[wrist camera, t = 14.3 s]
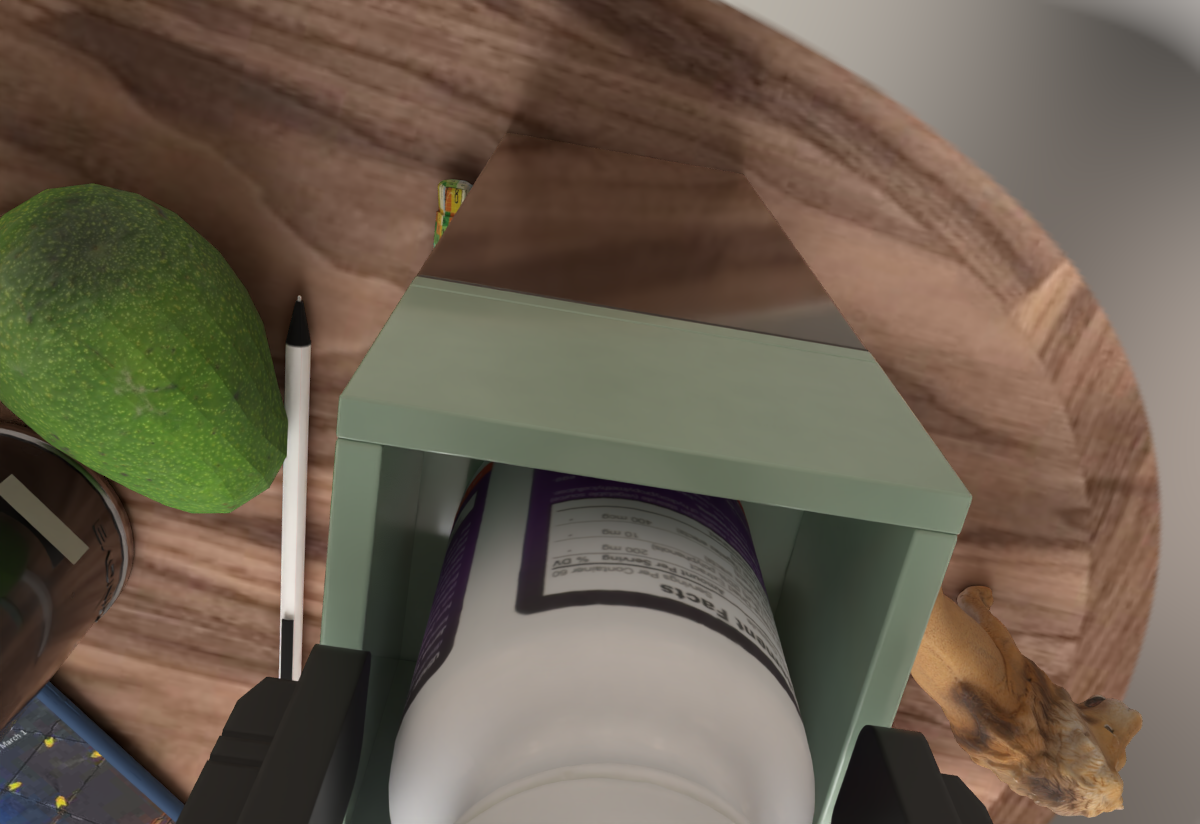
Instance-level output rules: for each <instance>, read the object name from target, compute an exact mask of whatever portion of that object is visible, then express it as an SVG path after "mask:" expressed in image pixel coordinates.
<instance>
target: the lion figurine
mask: <svg viewBox="0 0 1200 824" xmlns="http://www.w3.org/2000/svg"><path fill="white" fill-rule="evenodd" d="M957 603H958V605H957V604H956V603H955V602H954V601H953V600H951V599H950V598H948V597H947V596H946V595H944V594H943V590H942V585H941V587H940V590H939V593H938V596H937V598H936V601H935V604H934V607H933V610H932V613H931V615H930V618H929V621H928V624H927V627H926V630H925V633H924V635H923V638H922V641H921V644H920V647H919V650H918V652H917V655H916V658H915V661H914V664H913V667H912V669H911V672H910V673H911V674H912V676H913V678H914V679H915V680H916V682H917V683H918V684H919V685H920V686H921V687H922V688H923V689H924V691H925V692H926V693H927V694H928V695H929V696H930V697H931V698H933V699H934V700H935V701H936V702H937V703H939V704H940V705H941V708H942V710H943V712H944V714H945V715H946V717H947V718H948V720H949V721H950V726H951V729H952V732H953V734H954V737H955V739H956V741H957V743H958V744H959V745H960V746H961V747H962V748H963V749H964V750H965V751H966V752H967V753H968V754H969V755H970V758H971V760H972V761H973V762H974V763H976V764H978V765H980V766H983V767H986V768H989V769H990V770H992V771H993V772H994V773H995V774H996V776H997V777H998V778H999V780H1000V781H1002V782H1004V783H1007V784H1008V785H1009V787H1010V788H1011V789H1012V790H1013V791H1014V792H1016V793H1017V794H1019V795H1023V796H1028V797H1029V798H1031V799H1033V801H1034V802H1035V803H1036V804H1038V805H1040V806H1046V807H1048V808H1050V809H1051V810H1052V811H1053V812H1054V813H1056V814H1059V815H1063V816H1077V815H1084V816H1086V817H1088V818H1090V817H1096V816H1097V815H1099V814H1100V813H1102V812H1111V811H1113V810H1115V809H1118V810H1121V809H1123V808H1124V807H1123V805H1122V803H1123V799H1122V796H1121V794H1122V792H1123V781H1122V779H1121V777H1120V775H1119V774H1118V772H1119V771H1120V770H1121V769H1122V768H1123V766H1124V765H1125V763H1126V753H1125V748H1126V746H1127V745H1128V744H1129V742H1130V741H1131V739H1132V737H1134V736H1135V735H1136V733H1137V732H1138V731H1139V730H1140V729H1141V727H1142V716H1141V714H1140V713H1139V712H1137V711H1136V710H1133V709H1130V708H1128V707H1127V706H1126V705H1125V704H1124V703H1123V702H1121V701H1119V700H1116V699H1106V698H1105V697H1103V696H1101V695H1094V696H1092V697H1090V698H1089V699H1088V700H1086V701H1084V702H1082V703H1080V704H1075V703H1074V702H1073V701H1072V699H1071V697H1070V695H1069V693H1068V692H1067V691H1066V690H1065V689H1064V688H1063V687H1060V686H1057V685H1055V684H1053V683H1052V682H1051V680H1050V679H1049V678H1048V676H1047V675H1046V674H1045V672H1044V671H1042V670H1041V669H1040V668H1038V667H1037V666H1036V664H1035V663H1034V662H1033V661H1031V660H1029V659H1028V658H1026V657H1025V656H1024V655H1022V654H1021V653H1020V651H1019V650H1018V648H1017V646H1016V644H1015V642H1014V640H1013V639H1012V637H1011V635H1010V633H1009V632H1008V630H1007V629H1006V627H1005V626H1004V625H1003V624H1002V623H1001V622H1000V621H999V620H998V619H997V618H996V617H995V616H993V615H992V614H991V613H990V611H989V610H990V606H991V605H992V604H993V597H992V591H991V589H990V588H989V587H985V586H970V587H968V588H966V589H965V590H964V591H963V592H961V593H960V594H959V595H958V598H957Z"/></svg>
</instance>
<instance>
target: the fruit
mask: <svg viewBox="0 0 1200 824" xmlns="http://www.w3.org/2000/svg"><path fill="white" fill-rule="evenodd" d="M0 400H1V401H2V403H3V404H4V405H5V406H6V407H7V408H8V409H10V410H11V411H12V412H13V413H14V414H15V415H17V416H18V417H19V418H20V419H21V420H22V421H24V422H25V423H26V424H27V425H28V426H29V427H30V428H32V429H33V430H34V431H35V432H36V433H37V434H39V435H40V436H41V437H42V438H43V439H44V440H46V441H47V442H48V443H50V444H51V445H52V446H54V447H56V448H57V449H59V450H61V451H62V452H64V453H66V454H67V455H69V456H71V457H72V458H74V459H76V460H77V461H79V462H81V463H82V464H84V465H86V466H87V467H89V468H91V469H92V470H94V471H96V472H98V473H100V474H102V475H104V476H106V477H108V478H109V479H111V480H113V481H115V482H117V483H119V484H121V485H123V486H125V487H127V488H129V489H131V490H133V491H135V492H137V493H139V494H142V495H144V496H146V497H148V498H150V499H153V500H155V501H157V502H159V503H161V504H163V505H166V506H169V507H173V508H176V509H180V510H183V511H186V512H190V513H230V512H232V511H234V510H235V509H237V508H238V507H240V506H241V505H243V504H245V503H246V502H248V501H249V500H251V499H252V498H254V497H255V496H257V495H259V494H260V493H262V492H263V491H265V490H266V489H268V488H269V487H270V485H271V483H272V482H273V480H274V478H275V476H276V475H277V473H278V471H279V469H280V468H281V466H282V464H283V462H284V460H285V459H286V457H287V439H288V418H287V415H286V411H285V408H284V404H283V401H282V397H281V394H280V390H279V387H278V383H277V379H276V375H275V371H274V366H273V362H272V358H271V353H270V349H269V345H268V341H267V337H266V333H265V329H264V324H263V322H262V320H261V318H260V316H259V314H258V312H257V310H256V308H255V306H254V304H253V302H252V300H251V297H250V295H249V293H248V291H247V289H246V288H245V286H244V285H243V284H242V282H241V281H240V279H239V278H238V277H237V275H236V274H235V273H234V271H233V270H232V268H231V267H230V266H229V264H228V263H227V262H226V260H225V259H224V257H223V256H222V255H221V253H220V252H219V251H218V250H217V249H216V248H215V247H214V246H212V245H211V244H210V243H209V242H208V241H207V240H206V239H205V238H203V237H202V236H201V235H200V234H199V233H198V232H197V231H195V230H194V229H193V228H192V227H191V226H190V225H189V224H187V223H186V222H185V221H184V220H183V219H182V218H181V217H180V216H178V215H177V214H176V213H174V212H172V211H170V210H168V209H166V208H164V207H162V206H160V205H158V204H156V203H154V202H153V201H151V200H149V199H147V198H145V197H143V196H141V195H139V194H136V193H132V192H128V191H123V190H119V189H115V188H111V187H106V186H102V185H98V184H93V183H92V184H84V185H76V186H69V187H61V188H53V189H46V190H44V191H42V192H41V193H39V194H37V195H36V196H34V197H32V198H31V199H29V200H27V201H26V202H24V203H22V204H21V205H19V206H17V207H16V208H14V209H12V210H11V211H9V212H7V213H5V214H4V215H3V216H2V217H1V218H0Z"/></svg>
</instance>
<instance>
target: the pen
mask: <svg viewBox="0 0 1200 824" xmlns="http://www.w3.org/2000/svg"><path fill="white" fill-rule="evenodd" d="M310 360H311V340H310V335H309V330H308V324H307V319H306V314H305V309H304V304H303V301H302V300H301V296H298V300H296V302H295V306H294V310H293V314H292V318H291V322H290V326H289V330H288V334H287V338H286V355H285V405H284V408H285V411H286V415H287V418H288V439H287V457H286V459H285V460H284V462H283V506H282V556H281V606H280V656H279V678H280V679H287V680H294V681H298V680H299V678H300V676H301V661H302V628H303V594H304V561H305V527H306V494H307V461H308V427H309V394H310Z"/></svg>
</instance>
